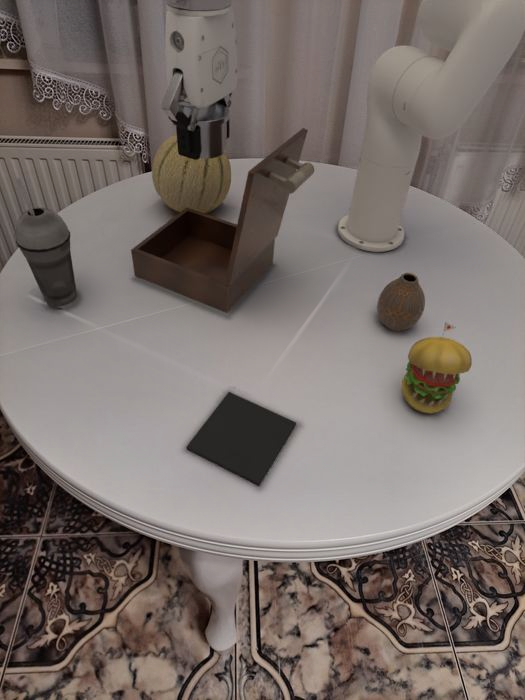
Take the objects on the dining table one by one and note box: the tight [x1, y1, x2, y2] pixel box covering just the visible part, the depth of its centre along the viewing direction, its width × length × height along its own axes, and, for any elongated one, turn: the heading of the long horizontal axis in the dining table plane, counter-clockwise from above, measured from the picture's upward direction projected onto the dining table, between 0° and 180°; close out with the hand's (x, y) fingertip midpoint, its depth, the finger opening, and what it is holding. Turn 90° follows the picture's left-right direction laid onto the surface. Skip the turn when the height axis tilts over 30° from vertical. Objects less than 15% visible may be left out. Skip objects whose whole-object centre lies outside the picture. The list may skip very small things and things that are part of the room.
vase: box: [376, 272, 426, 331], centre depth 77 cm, size 7×7×9 cm
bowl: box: [183, 102, 230, 159], centre depth 69 cm, size 7×7×5 cm
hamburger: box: [401, 321, 473, 414], centre depth 65 cm, size 8×7×12 cm
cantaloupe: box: [151, 133, 232, 214], centre depth 95 cm, size 15×15×15 cm
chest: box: [130, 208, 276, 314], centre depth 84 cm, size 18×16×6 cm
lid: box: [225, 127, 315, 286], centre depth 72 cm, size 18×16×5 cm
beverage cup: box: [14, 177, 77, 311], centre depth 72 cm, size 7×7×20 cm
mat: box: [186, 391, 297, 487], centre depth 63 cm, size 10×10×1 cm
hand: (204, 145), depth 71 cm, fingers closed on bowl, 7 cm apart
